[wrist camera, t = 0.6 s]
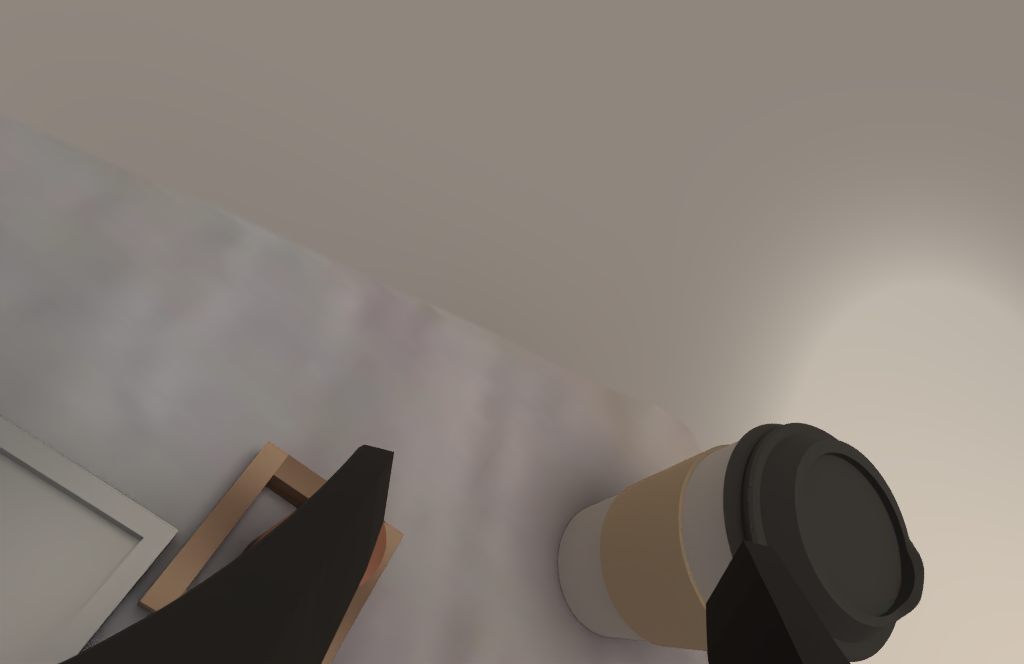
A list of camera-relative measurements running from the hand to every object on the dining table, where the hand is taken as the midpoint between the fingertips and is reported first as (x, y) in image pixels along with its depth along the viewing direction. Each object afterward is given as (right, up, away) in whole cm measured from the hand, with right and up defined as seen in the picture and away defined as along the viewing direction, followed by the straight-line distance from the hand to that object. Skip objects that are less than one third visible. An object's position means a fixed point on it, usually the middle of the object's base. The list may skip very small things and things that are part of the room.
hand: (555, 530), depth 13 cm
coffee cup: (+4, -9, +22) cm, 24 cm away
